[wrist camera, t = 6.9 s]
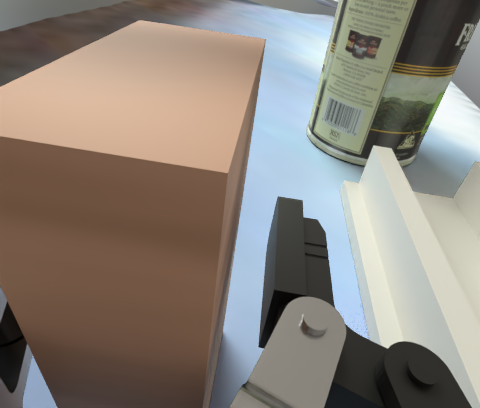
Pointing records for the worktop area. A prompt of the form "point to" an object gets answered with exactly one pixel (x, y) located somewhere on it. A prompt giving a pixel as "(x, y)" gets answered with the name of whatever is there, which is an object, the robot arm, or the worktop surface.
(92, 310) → the wooden card
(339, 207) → the worktop surface
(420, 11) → the coffee can
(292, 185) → the worktop surface
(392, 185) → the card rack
